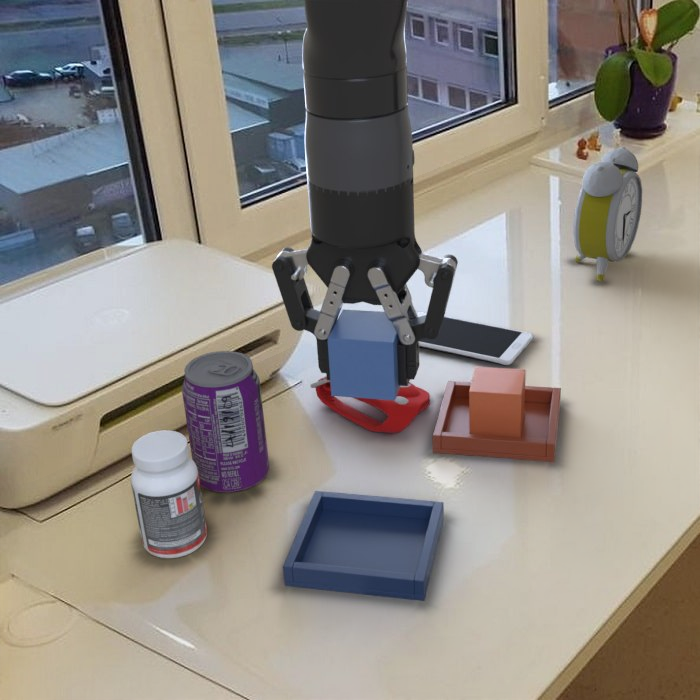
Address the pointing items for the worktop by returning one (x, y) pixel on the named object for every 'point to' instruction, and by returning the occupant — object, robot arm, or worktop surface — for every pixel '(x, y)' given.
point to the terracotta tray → (531, 445)
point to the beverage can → (225, 421)
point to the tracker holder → (379, 407)
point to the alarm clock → (608, 209)
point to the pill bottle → (167, 495)
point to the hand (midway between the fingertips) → (369, 377)
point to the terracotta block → (497, 401)
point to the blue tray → (366, 545)
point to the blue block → (363, 356)
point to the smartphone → (478, 340)
